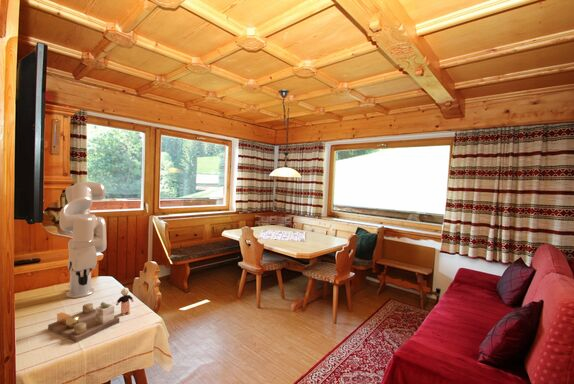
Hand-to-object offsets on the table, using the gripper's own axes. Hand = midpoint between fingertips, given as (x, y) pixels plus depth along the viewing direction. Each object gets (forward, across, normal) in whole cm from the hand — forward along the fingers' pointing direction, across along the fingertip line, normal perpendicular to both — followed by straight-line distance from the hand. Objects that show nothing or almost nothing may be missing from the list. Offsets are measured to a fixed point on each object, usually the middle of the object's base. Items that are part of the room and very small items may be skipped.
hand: (83, 284), depth 129 cm
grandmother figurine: (+17, -13, +10) cm, 24 cm away
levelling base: (+17, +2, +5) cm, 18 cm away
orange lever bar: (+15, +7, +1) cm, 16 cm away
